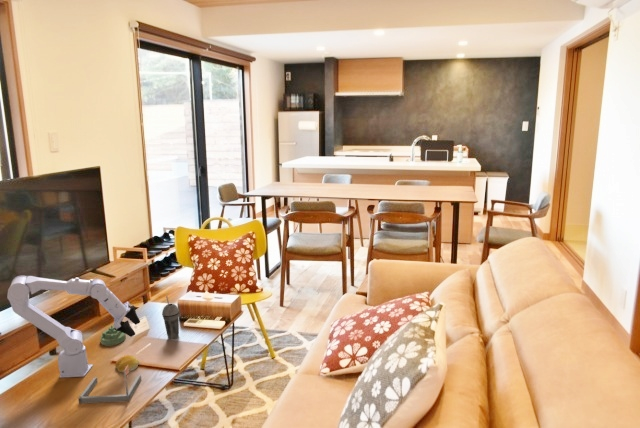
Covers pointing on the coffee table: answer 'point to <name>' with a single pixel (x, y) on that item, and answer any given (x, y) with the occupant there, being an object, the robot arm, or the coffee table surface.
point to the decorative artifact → (112, 337)
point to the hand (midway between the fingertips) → (135, 329)
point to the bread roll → (127, 363)
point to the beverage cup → (171, 320)
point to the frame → (109, 398)
